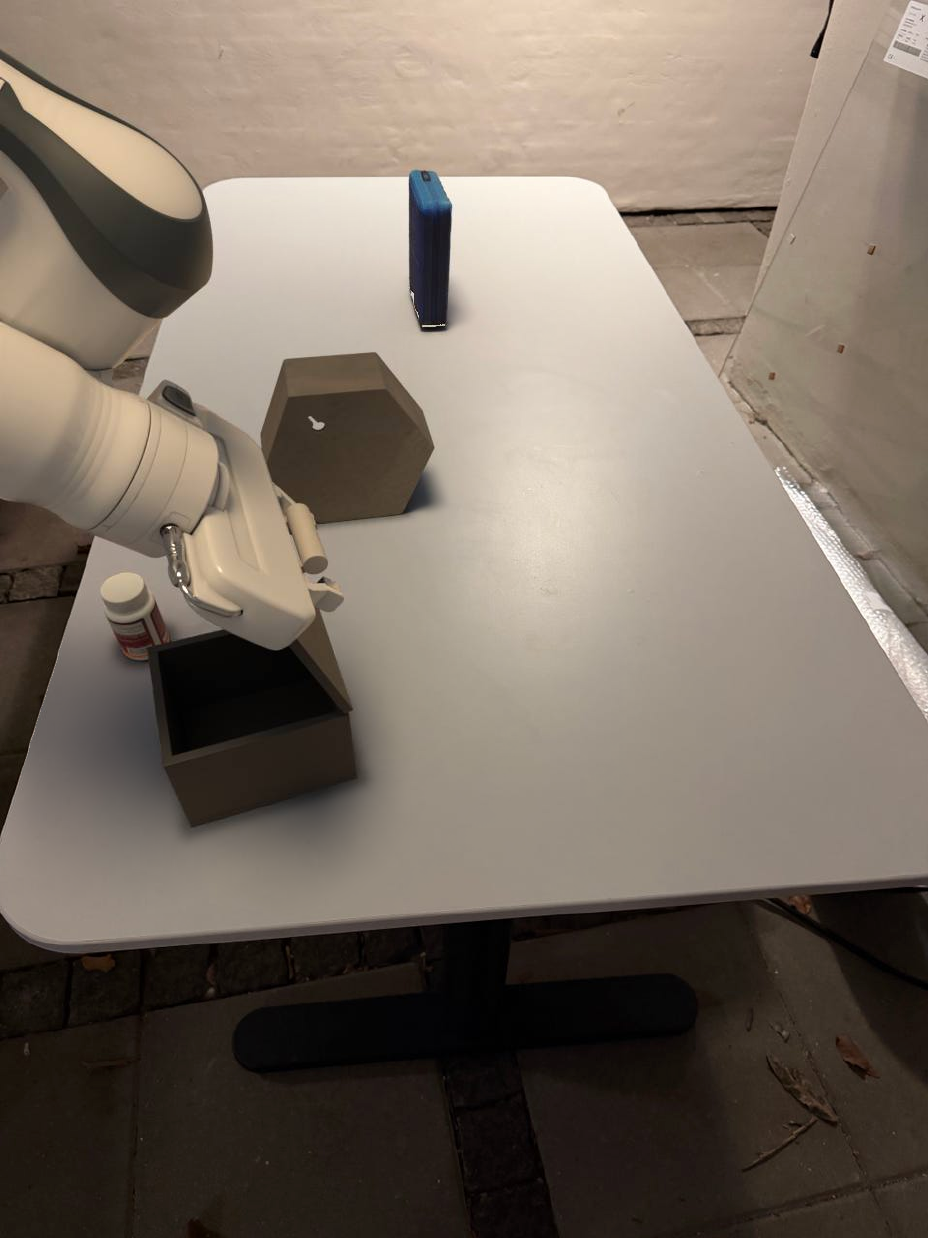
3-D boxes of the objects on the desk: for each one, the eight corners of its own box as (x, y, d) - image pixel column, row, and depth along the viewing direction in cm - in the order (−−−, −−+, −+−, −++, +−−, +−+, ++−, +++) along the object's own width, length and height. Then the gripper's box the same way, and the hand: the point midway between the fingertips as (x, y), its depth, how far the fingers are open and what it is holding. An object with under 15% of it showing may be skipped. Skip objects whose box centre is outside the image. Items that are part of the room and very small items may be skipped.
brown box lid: (253, 603, 50) (324, 569, 50) (222, 487, 58) (284, 457, 58) (344, 714, 62) (401, 686, 62) (309, 606, 70) (360, 581, 70)
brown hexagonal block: (446, 439, 97) (345, 313, 83) (459, 476, 92) (354, 349, 78) (339, 509, 102) (225, 401, 87) (346, 548, 97) (227, 441, 82)
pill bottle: (146, 620, 82) (123, 562, 75) (179, 638, 80) (159, 581, 74) (111, 649, 79) (84, 591, 73) (145, 669, 77) (120, 612, 71)
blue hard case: (405, 293, 134) (403, 165, 119) (436, 291, 135) (437, 164, 120) (418, 334, 125) (418, 201, 110) (451, 332, 125) (454, 199, 111)
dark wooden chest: (191, 827, 66) (162, 767, 59) (174, 712, 74) (146, 646, 67) (357, 778, 70) (349, 715, 63) (324, 674, 78) (313, 607, 70)
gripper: (207, 558, 41) (390, 634, 51) (165, 365, 54) (318, 456, 64) (143, 634, 43) (330, 693, 53) (116, 431, 56) (271, 509, 66)
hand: (323, 562), depth 58 cm, fingers open, 7 cm apart
